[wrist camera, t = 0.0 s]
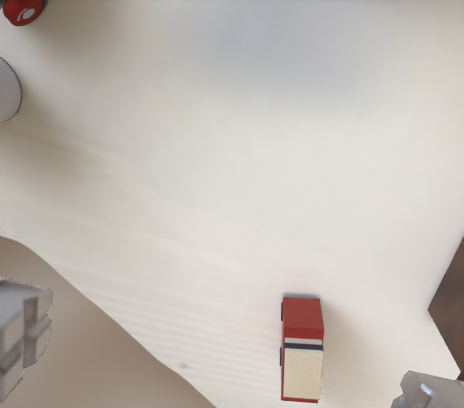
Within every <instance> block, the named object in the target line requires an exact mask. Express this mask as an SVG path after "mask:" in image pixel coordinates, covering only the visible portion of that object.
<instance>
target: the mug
mask: <svg viewBox="0 0 464 408" xmlns="http://www.w3.org/2000/svg"><path fill="white" fill-rule="evenodd" d="M20 102H21V90H20V85H19V82H18V80H17V77H16V75H15V74H14V72H13V71H12V69H11V68H10V67H9V66H8V65H7V64H6V63H5V62H4V61H3V60H2V59H1V58H0V123H1V122H4V121H6V120H8V119H10V118H11V117H12V116H14V115H15V113H16V112H17V110H18V109H19V106H20Z"/></svg>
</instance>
